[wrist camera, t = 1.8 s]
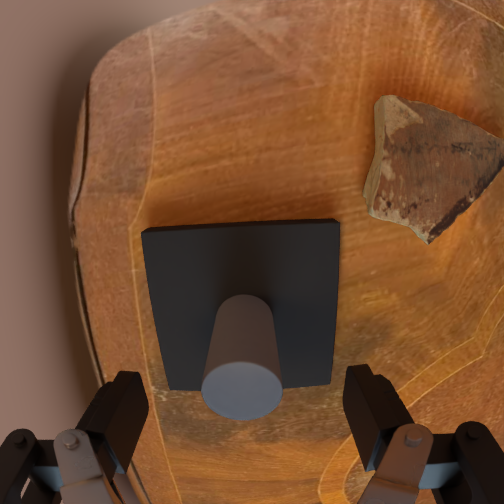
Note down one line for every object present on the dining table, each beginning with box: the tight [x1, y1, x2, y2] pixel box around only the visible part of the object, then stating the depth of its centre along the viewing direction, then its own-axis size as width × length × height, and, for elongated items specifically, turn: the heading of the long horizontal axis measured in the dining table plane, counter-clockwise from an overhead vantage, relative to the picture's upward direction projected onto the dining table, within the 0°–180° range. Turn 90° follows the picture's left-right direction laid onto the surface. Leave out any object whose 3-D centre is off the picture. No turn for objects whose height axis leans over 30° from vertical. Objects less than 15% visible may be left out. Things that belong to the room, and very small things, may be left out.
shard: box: [363, 95, 504, 245], centre depth 15 cm, size 11×8×2 cm
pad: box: [141, 219, 340, 420], centre depth 14 cm, size 10×10×7 cm
